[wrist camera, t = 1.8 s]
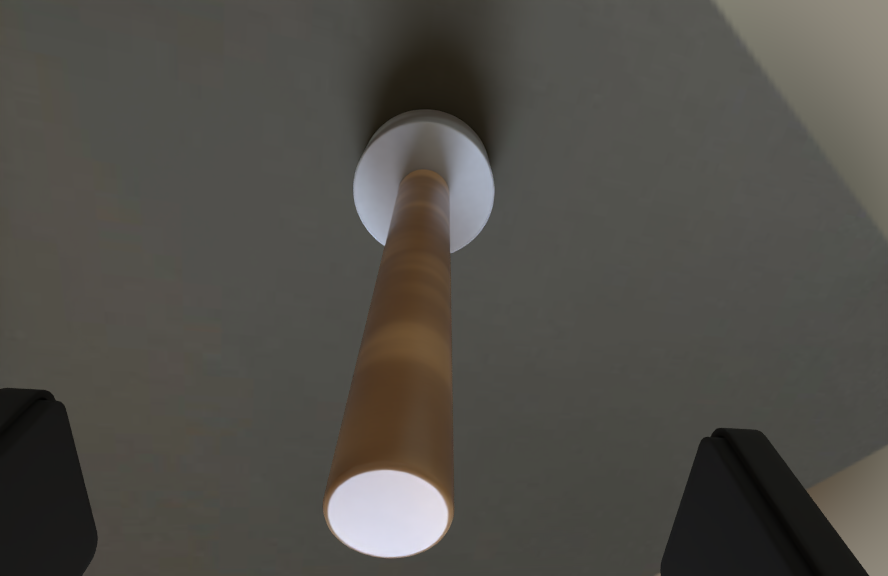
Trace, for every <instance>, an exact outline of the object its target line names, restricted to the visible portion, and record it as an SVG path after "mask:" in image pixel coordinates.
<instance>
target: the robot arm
mask: <svg viewBox="0 0 888 576" xmlns="http://www.w3.org/2000/svg"><path fill="white" fill-rule="evenodd" d="M97 540H98V536H97V530H96V526H95V522H94V518H93V515H92V511H91V507H90V503H89V499H88V495H87V491H86V487H85V483H84V479H83V475H82V471H81V467H80V463H79V459H78V455H77V451H76V447H75V443H74V439H73V435H72V431H71V427H70V423H69V419H68V416H67V412H66V408H65V406H64V405H63V404H62V402H59V401H56V400H55V398H54V396H53V395H52V394H51V393H50V392H49V391H46V390H35V389H17V388H3V389H0V576H82V575H83V573H84V572H85V570H86V569H87V567H88V565H89V564H90V562H91V560H92V558H93V556H94V554H95V551H96V547H97ZM661 576H869V575H868V574H867V572H866V571H865V570H864V568H863V567H862V565H861V564H860V563H859V561H858V560H857V559H856V557H855V556H854V555H853V553H852V552H851V551H850V549H849V548H848V547H847V545H846V544H845V543H844V541H843V540H842V539H841V537H840V536H839V534H838V533H837V532H836V530H835V529H834V528H833V527H832V525H831V524H830V522H829V521H828V520H827V518H826V517H825V516H824V514H823V513H822V512H821V510H820V509H819V508H818V506H817V505H816V504H815V502H814V501H813V499H812V498H811V497H810V495H809V494H808V493H807V491H806V490H805V489H804V487H803V486H802V485H801V483H800V482H799V481H798V479H797V478H796V477H795V475H794V474H793V472H792V471H791V470H790V468H789V467H788V466H787V464H786V463H785V462H784V460H783V459H782V458H781V456H780V455H779V454H778V452H777V451H776V450H775V448H774V447H773V446H772V444H771V443H770V441H769V440H768V439H767V437H766V436H765V435H764V434H763V433H762V432H760V431H758V430H750V429H732V428H718V429H716V430H715V431H714V432H713V433H712V435H711V437H705V438H703V439H702V440H701V442H700V444H699V447H698V450H697V454H696V457H695V460H694V463H693V466H692V469H691V472H690V475H689V478H688V481H687V484H686V487H685V490H684V494H683V497H682V500H681V503H680V506H679V509H678V512H677V515H676V518H675V521H674V524H673V527H672V530H671V534H670V537H669V540H668V543H667V546H666V549H665V552H664V555H663V558H662V562H661Z"/></svg>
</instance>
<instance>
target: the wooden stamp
mask: <svg viewBox="0 0 888 576" xmlns="http://www.w3.org/2000/svg"><path fill="white" fill-rule="evenodd" d="M494 194H495V187H494V178H493V174H492V170H491V166H490V162H489V158H488V155H487V152H486V149H485V147H484V145H483V143H482V141H481V140H480V138H479V137H478V135H477V134H476V133H475V132H474V131H473V130H472V129H471V127H470V126H468V125H467V124H466V123H465V122H463V121H462V120H460V119H459V118H457V117H455V116H453V115H451V114H448V113H445V112H442V111H438V110H431V109H419V110H412V111H408V112H405V113H402V114H399V115H397V116H395V117H393V118H392V119H390V120H388V121H387V122H386V123H384V124H383V125H382V126H381V127H380V128H379V129H378V130H377V131H376V132H375V133H374V135H373V136H372V138H371V139H370V141H369V143H368V145H367V147H366V149H365V151H364V152H363V154H362V156H361V158H360V160H359V162H358V165H357V168H356V171H355V176H354V182H353V195H354V201H355V206H356V209H357V212H358V215H359V217H360V219H361V221H362V223H363V224H364V226H365V227H366V229H367V230H368V231H369V232H370V233H371V235H372V236H373V237H374V238H375V239H377V240H378V241H379V242H380V243H381V244H383V245H384V246H385V247H384V251H383V255H382V260H381V264H380V268H379V272H378V276H377V280H376V284H375V288H374V293H373V297H372V301H371V305H370V309H369V313H368V317H367V321H366V325H365V330H364V334H363V338H362V342H361V346H360V350H359V354H358V358H357V363H356V367H355V371H354V375H353V379H352V383H351V387H350V391H349V396H348V400H347V404H346V408H345V412H344V416H343V420H342V424H341V429H340V433H339V437H338V441H337V445H336V449H335V453H334V457H333V461H332V466H331V470H330V474H329V478H328V482H327V486H326V490H325V494H324V499H323V513H324V516H325V519H326V523H327V525H328V527H329V529H330V530H331V532H332V533H333V534H334V535H335V536H336V538H337V539H339V540H340V541H341V542H342V543H343V544H345V545H346V546H348V547H349V548H351V549H353V550H355V551H358V552H360V553H363V554H366V555H369V556H374V557H380V558H402V557H408V556H412V555H416V554H419V553H421V552H424V551H426V550H428V549H429V548H431V547H433V546H434V545H435V544H437V543H438V542H439V541H440V540H441V539H442V538H443V537H444V535H445V534H446V533H447V531H448V529H449V527H450V526H451V523H452V520H453V516H454V464H453V398H452V333H451V267H450V253H453V252H455V251H457V250H459V249H461V248H463V247H464V246H465V245H467V244H468V243H470V242H471V241H472V240H473V239H474V238H475V237H476V236H477V235H478V234H479V233H480V231H481V230H482V229H483V227H484V226H485V224H486V222H487V220H488V218H489V216H490V214H491V211H492V207H493V202H494Z"/></svg>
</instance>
